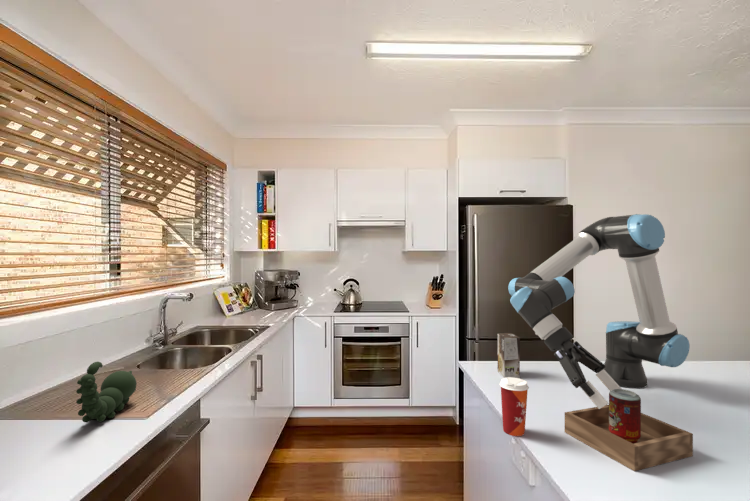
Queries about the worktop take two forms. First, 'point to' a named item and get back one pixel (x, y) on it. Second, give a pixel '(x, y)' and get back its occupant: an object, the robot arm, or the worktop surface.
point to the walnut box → (649, 451)
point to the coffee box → (509, 355)
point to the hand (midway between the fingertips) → (611, 399)
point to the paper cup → (514, 405)
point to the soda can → (625, 414)
